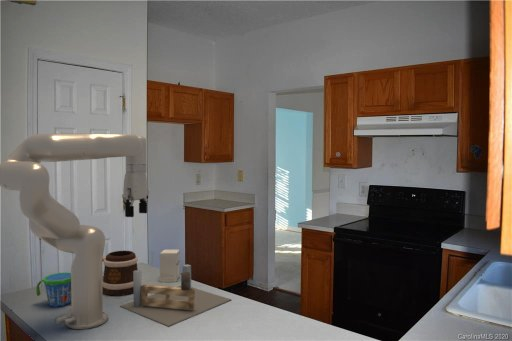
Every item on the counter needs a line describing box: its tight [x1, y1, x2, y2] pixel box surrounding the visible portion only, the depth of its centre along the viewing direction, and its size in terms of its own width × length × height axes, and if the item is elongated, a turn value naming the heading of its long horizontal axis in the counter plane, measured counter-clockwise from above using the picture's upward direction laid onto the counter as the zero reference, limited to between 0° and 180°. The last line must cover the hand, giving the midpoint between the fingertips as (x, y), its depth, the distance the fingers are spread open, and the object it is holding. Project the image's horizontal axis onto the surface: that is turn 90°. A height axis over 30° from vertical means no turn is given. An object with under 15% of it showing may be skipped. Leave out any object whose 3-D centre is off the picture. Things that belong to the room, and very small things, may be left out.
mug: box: [102, 250, 139, 296], centre depth 163 cm, size 20×15×15 cm
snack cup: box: [35, 271, 71, 308], centre depth 148 cm, size 16×11×10 cm
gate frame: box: [133, 264, 192, 307], centre depth 154 cm, size 26×3×13 cm, turn 142°
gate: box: [141, 271, 195, 310], centre depth 142 cm, size 20×3×13 cm, turn 77°
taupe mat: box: [119, 285, 232, 328], centre depth 148 cm, size 30×27×1 cm
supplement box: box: [159, 249, 181, 283], centre depth 176 cm, size 7×7×13 cm
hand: (136, 214), depth 150 cm, fingers open, 9 cm apart
